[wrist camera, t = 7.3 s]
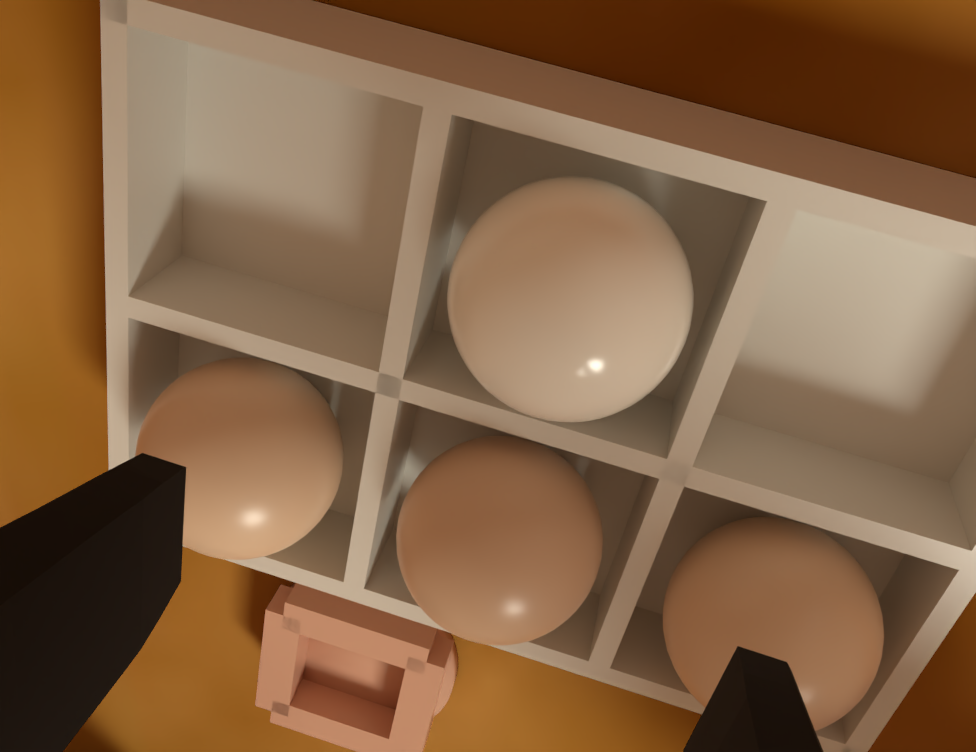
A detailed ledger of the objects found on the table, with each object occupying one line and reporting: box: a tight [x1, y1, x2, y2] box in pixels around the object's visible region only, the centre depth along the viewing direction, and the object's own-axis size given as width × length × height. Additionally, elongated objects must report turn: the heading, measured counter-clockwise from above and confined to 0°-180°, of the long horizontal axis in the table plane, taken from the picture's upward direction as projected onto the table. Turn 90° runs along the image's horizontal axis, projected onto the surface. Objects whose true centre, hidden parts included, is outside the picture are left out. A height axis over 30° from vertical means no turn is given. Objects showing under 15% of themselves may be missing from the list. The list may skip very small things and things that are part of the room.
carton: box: [100, 0, 976, 752], centre depth 19 cm, size 18×12×5 cm
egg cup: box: [255, 583, 458, 752], centre depth 26 cm, size 6×6×2 cm
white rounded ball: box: [447, 176, 693, 422], centre depth 17 cm, size 4×4×4 cm
